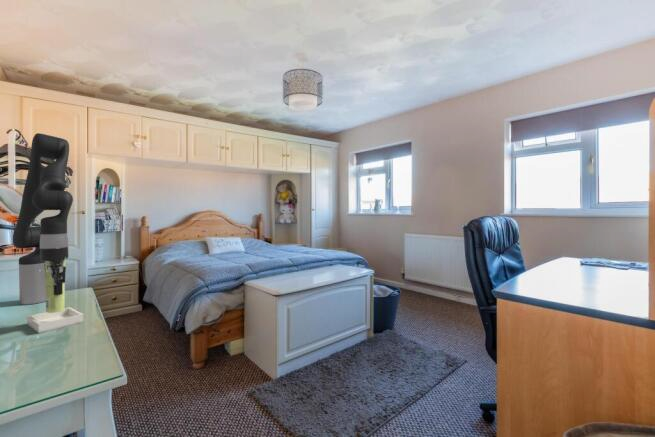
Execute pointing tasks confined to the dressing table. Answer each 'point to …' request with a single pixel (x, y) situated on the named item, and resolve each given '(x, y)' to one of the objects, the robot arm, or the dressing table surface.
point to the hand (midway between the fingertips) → (55, 293)
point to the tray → (54, 320)
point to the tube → (53, 301)
